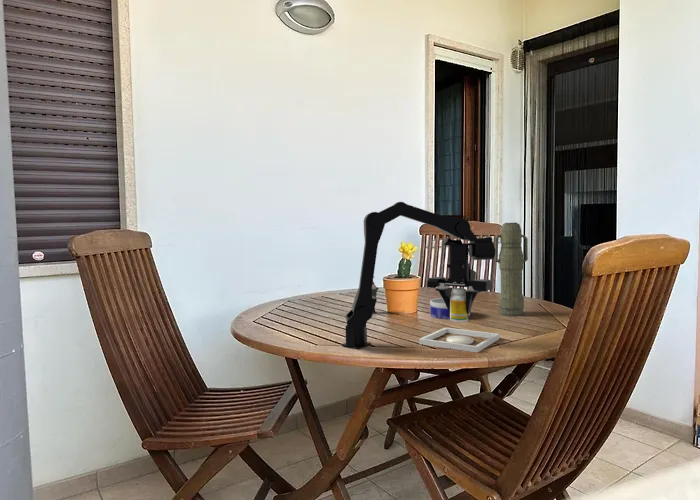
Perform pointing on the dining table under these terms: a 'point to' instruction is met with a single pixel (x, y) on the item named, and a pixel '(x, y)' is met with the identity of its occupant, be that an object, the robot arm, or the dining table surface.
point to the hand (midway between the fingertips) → (459, 312)
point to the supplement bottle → (458, 305)
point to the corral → (429, 341)
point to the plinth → (460, 339)
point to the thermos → (511, 268)
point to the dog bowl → (440, 309)
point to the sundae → (374, 292)
